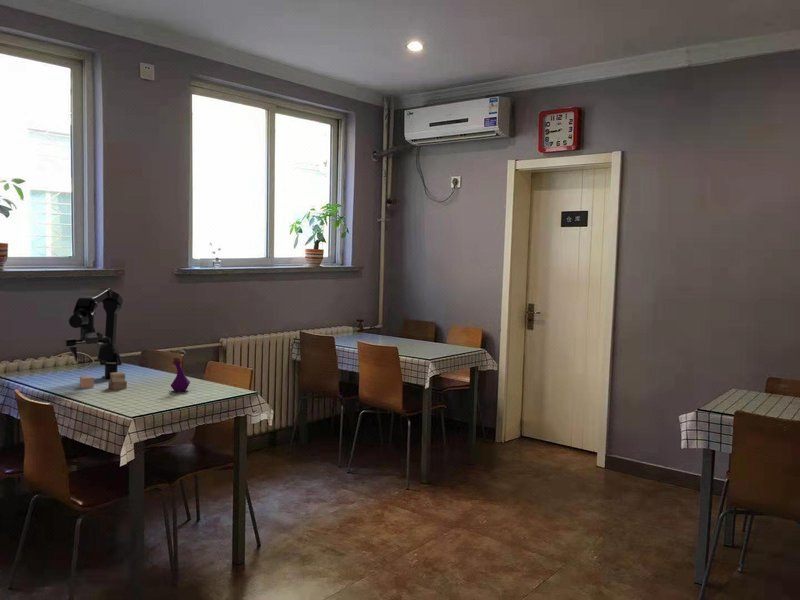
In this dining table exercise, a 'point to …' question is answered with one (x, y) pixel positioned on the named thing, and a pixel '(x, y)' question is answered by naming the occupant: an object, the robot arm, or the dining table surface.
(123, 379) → the tower mid
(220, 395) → the dining table surface
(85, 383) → the cube
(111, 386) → the tower base
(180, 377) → the purple faceted vase
